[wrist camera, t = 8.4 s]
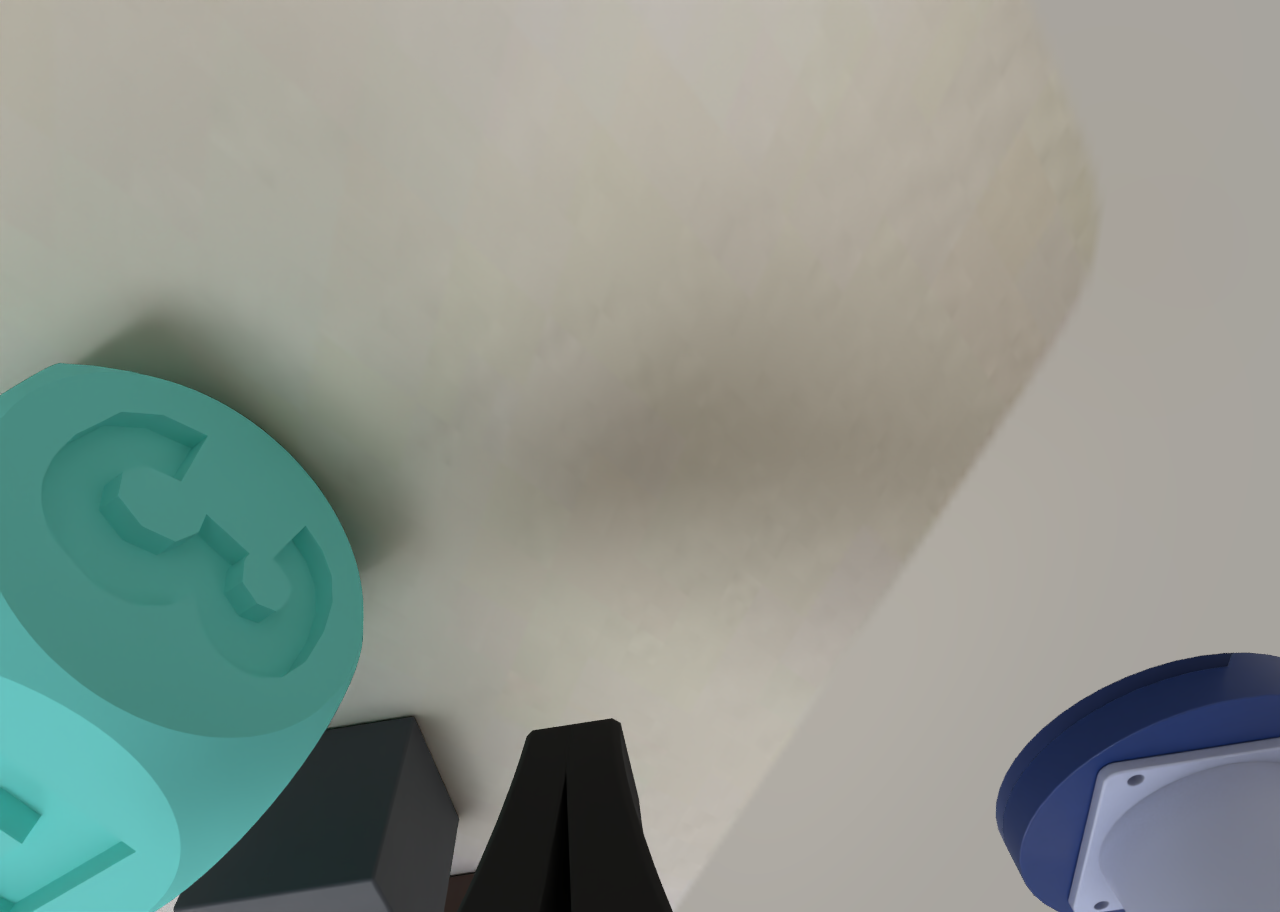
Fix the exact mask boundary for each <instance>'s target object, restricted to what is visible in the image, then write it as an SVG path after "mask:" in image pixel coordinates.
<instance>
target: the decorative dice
mask: <svg viewBox="0 0 1280 912" xmlns="http://www.w3.org/2000/svg"><path fill="white" fill-rule="evenodd" d="M362 641H363V595H362V587H361V581H360V576H359V571H358V568H357V564H356V560H355V557H354V554H353V551H352V549H351V546H350V543H349V541H348V538H347V536H346V534H345V532H344V530H343V527H342V525H341V523H340V521H339V520H338V518H337V516H336V514H335V512H334V511H333V509H332V507H331V506H330V504H329V502H328V501H327V499H326V498H325V496H324V495H323V493H322V492H321V490H320V489H319V488H318V486H317V485H316V484H315V482H314V481H313V480H312V479H311V477H310V476H309V475H308V474H307V472H306V471H305V470H304V469H303V468H302V467H301V465H300V464H299V463H298V462H297V461H296V460H295V459H294V458H293V457H292V456H291V455H290V454H289V453H288V452H287V451H286V450H285V449H284V448H283V447H282V446H281V445H280V444H279V443H277V442H276V441H275V440H274V439H273V438H272V437H271V436H269V435H268V434H267V433H266V432H264V431H263V430H262V429H261V428H259V427H258V426H257V425H255V424H254V423H253V422H251V421H250V420H248V419H247V418H245V417H244V416H242V415H241V414H239V413H238V412H236V411H234V410H233V409H231V408H230V407H228V406H226V405H224V404H222V403H221V402H219V401H217V400H215V399H213V398H211V397H209V396H207V395H205V394H202V393H200V392H198V391H195V390H193V389H191V388H188V387H185V386H183V385H180V384H177V383H174V382H170V381H167V380H164V379H160V378H156V377H152V376H148V375H143V374H139V373H135V372H131V371H126V370H119V369H113V368H106V367H100V366H92V365H78V364H64V363H58V364H55V365H52V366H50V367H48V368H46V369H44V370H42V371H40V372H38V373H37V374H35V375H33V376H31V377H29V378H28V379H26V380H24V381H23V382H21V383H19V384H18V385H16V386H14V387H13V388H11V389H9V390H8V391H6V392H5V393H3V394H1V395H0V912H155V911H157V910H158V909H160V908H161V907H163V906H164V905H166V904H167V903H169V902H170V901H171V900H173V899H174V898H175V897H177V896H178V895H179V894H181V893H182V892H183V891H185V890H186V889H187V888H188V887H190V886H191V885H192V884H193V883H194V882H196V881H197V880H198V879H199V878H200V877H202V876H203V875H204V874H205V873H206V872H207V871H208V870H209V869H210V868H212V867H213V866H214V865H215V864H216V863H217V862H218V861H219V860H220V859H221V858H222V857H223V856H224V855H225V854H226V853H227V852H228V851H229V850H230V849H231V848H232V847H233V846H234V845H235V844H236V843H237V842H238V841H239V840H240V839H241V838H242V837H243V836H244V835H245V834H246V833H247V832H248V831H249V830H250V828H251V827H252V826H253V825H254V824H255V823H256V822H257V821H258V820H259V818H260V817H261V816H262V815H263V814H264V813H265V812H266V810H267V809H268V808H269V807H270V806H271V805H272V803H273V802H274V801H275V800H276V798H277V797H278V796H279V795H280V793H281V792H282V791H283V790H284V788H285V787H286V786H287V785H288V783H289V782H290V781H291V779H292V778H293V777H294V775H295V774H296V773H297V771H298V770H299V769H300V767H301V766H302V765H303V763H304V762H305V760H306V759H307V757H308V756H309V754H310V753H311V752H312V750H313V749H314V747H315V746H316V744H317V743H318V741H319V739H320V738H321V736H322V735H323V733H324V731H325V730H326V728H327V727H328V725H329V723H330V721H331V720H332V718H333V716H334V714H335V713H336V711H337V709H338V707H339V705H340V703H341V701H342V699H343V697H344V695H345V693H346V691H347V689H348V687H349V685H350V682H351V680H352V677H353V675H354V672H355V670H356V667H357V663H358V660H359V657H360V653H361V648H362Z"/></svg>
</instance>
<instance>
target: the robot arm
mask: <svg viewBox="0 0 1280 912" xmlns="http://www.w3.org/2000/svg"><path fill="white" fill-rule="evenodd" d="M1068 901H1069V904H1070V906H1071V908H1072V909H1073V911H1074V912H1105V911H1112V910H1119V909H1124V910H1125V911H1126V912H1280V737H1278V738H1271V739H1264V740H1258V741H1251V742H1245V743H1238V744H1232V745H1225V746H1219V747H1212V748H1206V749H1199V750H1193V751H1186V752H1179V753H1173V754H1166V755H1160V756H1153V757H1147V758H1140V759H1134V760H1127V761H1121V762H1114V763H1111V764H1108V765H1106V766H1104V767H1103V768H1102V769H1101V770H1100V771H1099V773H1098V775H1097V779H1096V783H1095V788H1094V792H1093V796H1092V800H1091V805H1090V809H1089V813H1088V818H1087V822H1086V826H1085V830H1084V835H1083V839H1082V843H1081V848H1080V852H1079V856H1078V860H1077V865H1076V869H1075V873H1074V878H1073V882H1072V886H1071V890H1070V895H1069V899H1068ZM457 912H673V911H672V909H671V906H670V904H669V901H668V899H667V896H666V894H665V892H664V889H663V887H662V884H661V882H660V879H659V876H658V874H657V871H656V868H655V866H654V863H653V860H652V857H651V854H650V852H649V849H648V846H647V843H646V840H645V837H644V834H643V828H642V821H641V813H640V805H639V798H638V794H637V790H636V786H635V781H634V777H633V773H632V769H631V765H630V761H629V756H628V752H627V748H626V744H625V740H624V736H623V731H622V727H621V723H620V722H618V721H616V720H614V719H612V718H611V719H605V720H598V721H592V722H585V723H579V724H572V725H566V726H559V727H552V728H546V729H539V730H533V731H532V732H531V733H530V734H529V735H528V736H527V738H526V741H525V744H524V747H523V751H522V754H521V757H520V760H519V763H518V766H517V769H516V772H515V775H514V778H513V780H512V783H511V786H510V789H509V791H508V794H507V797H506V799H505V802H504V804H503V807H502V810H501V812H500V815H499V817H498V820H497V822H496V825H495V827H494V830H493V832H492V834H491V837H490V839H489V841H488V844H487V846H486V849H485V851H484V853H483V856H482V858H481V860H480V863H479V865H478V867H477V870H476V872H475V874H474V877H473V879H472V881H471V883H470V885H469V888H468V890H467V892H466V894H465V896H464V898H463V900H462V902H461V904H460V906H459V908H458V910H457Z"/></svg>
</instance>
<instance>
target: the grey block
mask: <svg viewBox="0 0 1280 912" xmlns="http://www.w3.org/2000/svg"><path fill="white" fill-rule="evenodd" d="M458 822H459V818H458V816H457V813H456V811H455V809H454V806H453V804H452V802H451V800H450V797H449V795H448V793H447V790H446V788H445V786H444V784H443V781H442V779H441V777H440V775H439V772H438V770H437V768H436V765H435V763H434V761H433V759H432V756H431V754H430V752H429V750H428V747H427V745H426V743H425V740H424V738H423V736H422V734H421V731H420V729H419V727H418V724H417V722H416V720H415V718H414V717H407V718H401V719H394V720H388V721H382V722H375V723H369V724H362V725H356V726H350V727H343V728H337V729H331V730H325V731H324V733H323V735H322V736H321V738H320V739H319V741H318V743H317V744H316V746H315V747H314V749H313V750H312V752H311V753H310V754H309V756H308V757H307V759H306V760H305V762H304V763H303V765H302V766H301V767H300V769H299V770H298V771H297V773H296V774H295V775H294V777H293V778H292V779H291V781H290V782H289V783H288V785H287V786H286V787H285V788H284V790H283V791H282V792H281V793H280V795H279V796H278V797H277V798H276V800H275V801H274V802H273V803H272V805H271V806H270V807H269V808H268V809H267V810H266V812H265V813H264V814H263V815H262V816H261V817H260V818H259V820H258V821H257V822H256V823H255V824H254V825H253V826H252V827H251V828H250V830H249V831H248V832H247V833H246V834H245V835H244V836H243V837H242V838H241V839H240V840H239V841H238V842H237V843H236V844H235V845H234V846H233V847H232V848H231V849H230V850H229V851H228V852H227V853H226V854H225V855H224V856H223V857H222V858H221V859H220V860H219V861H218V862H217V863H216V864H215V865H214V866H213V867H212V868H210V869H209V870H208V871H207V872H206V873H205V874H204V875H203V876H202V877H200V878H199V879H198V880H197V881H196V882H194V883H193V884H192V885H191V886H190V887H188V888H187V889H186V890H185V891H183V892H182V893H181V894H180V895H179V898H178V900H177V902H176V904H175V906H174V912H444V908H445V902H446V895H447V889H448V883H449V877H450V871H451V865H452V859H453V852H454V846H455V840H456V834H457V828H458Z"/></svg>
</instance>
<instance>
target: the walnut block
mask: <svg viewBox="0 0 1280 912" xmlns="http://www.w3.org/2000/svg"><path fill="white" fill-rule="evenodd" d="M474 874H475V873H473V874H467V875H460V876H454V877H449V883H448V889H447V895H446V902H445V908H444V912H457V910H458V908H459V906H460V904H461V902H462V900H463V898H464V896H465V894H466V892H467V890H468V888H469V885H470V883H471V881H472V879H473V877H474Z"/></svg>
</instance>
